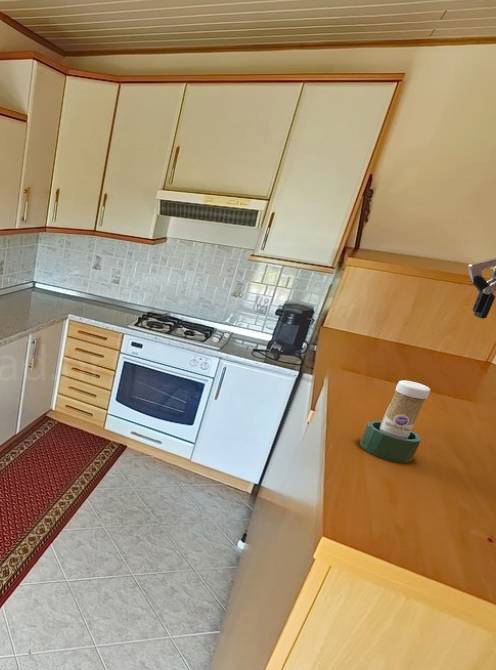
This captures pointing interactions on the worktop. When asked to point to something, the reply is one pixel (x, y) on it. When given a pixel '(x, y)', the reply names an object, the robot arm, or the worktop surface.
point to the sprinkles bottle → (404, 409)
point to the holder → (389, 444)
